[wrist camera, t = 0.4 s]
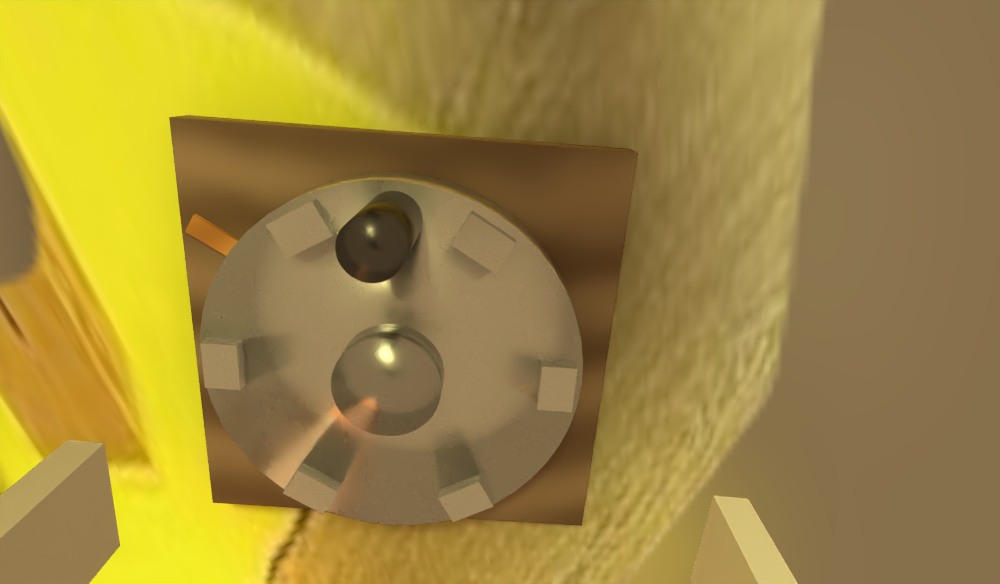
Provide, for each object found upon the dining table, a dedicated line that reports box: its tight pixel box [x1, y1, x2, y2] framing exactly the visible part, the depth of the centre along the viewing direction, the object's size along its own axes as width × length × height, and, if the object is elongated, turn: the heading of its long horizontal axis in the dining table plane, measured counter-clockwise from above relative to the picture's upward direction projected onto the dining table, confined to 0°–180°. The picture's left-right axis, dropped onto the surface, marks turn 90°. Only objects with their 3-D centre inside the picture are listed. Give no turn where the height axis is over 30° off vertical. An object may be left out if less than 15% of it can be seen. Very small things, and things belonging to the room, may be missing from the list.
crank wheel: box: [200, 172, 583, 525], centre depth 32 cm, size 22×22×9 cm
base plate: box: [169, 115, 638, 526], centre depth 38 cm, size 26×26×2 cm
